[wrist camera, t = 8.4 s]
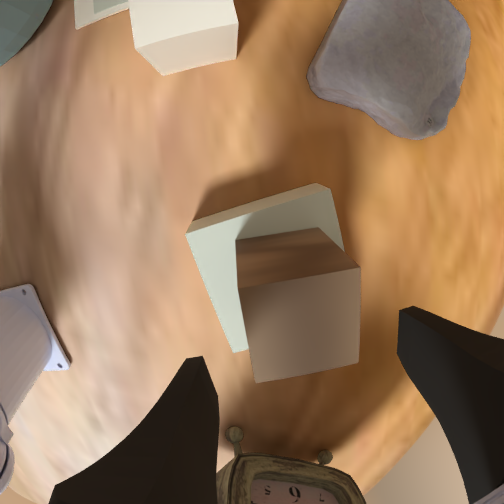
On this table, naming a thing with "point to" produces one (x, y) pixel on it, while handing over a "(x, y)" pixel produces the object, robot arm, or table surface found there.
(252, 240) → the walnut block
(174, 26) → the off-white block
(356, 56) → the stone block
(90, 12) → the card
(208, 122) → the table surface
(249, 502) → the tabletop clock
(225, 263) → the base block
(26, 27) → the mug
